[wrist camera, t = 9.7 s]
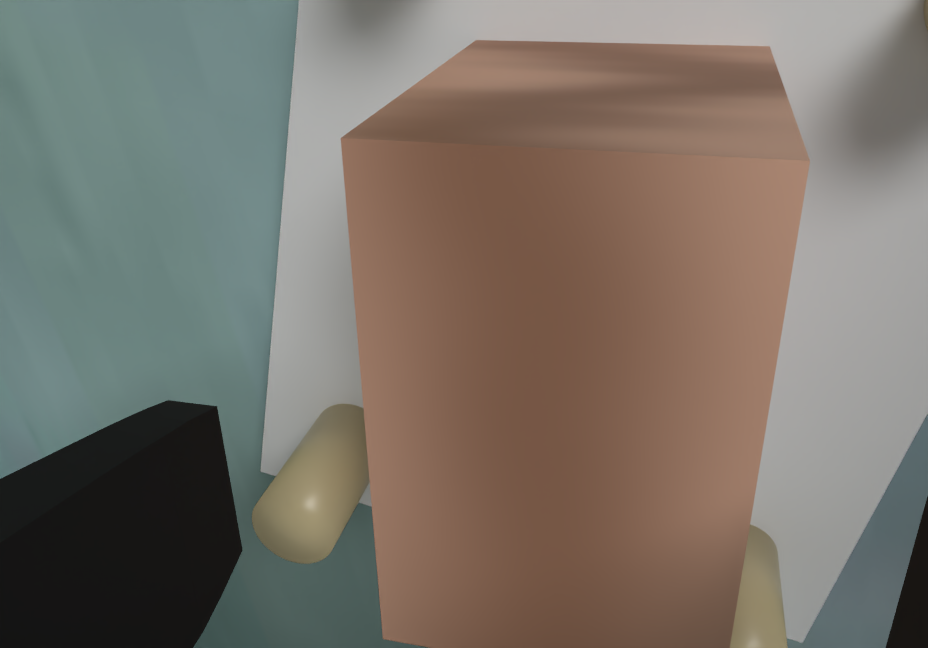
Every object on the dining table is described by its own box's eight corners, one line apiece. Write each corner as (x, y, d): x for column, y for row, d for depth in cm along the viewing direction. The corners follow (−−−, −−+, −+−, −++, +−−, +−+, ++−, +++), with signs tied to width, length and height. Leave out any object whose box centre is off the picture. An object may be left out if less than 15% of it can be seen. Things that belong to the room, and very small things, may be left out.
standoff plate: (1166, -108, 12) (1364, -98, 8) (797, 601, 19) (818, 772, 15) (351, -269, 14) (221, -320, 10) (282, 441, 20) (191, 564, 17)
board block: (769, 45, 13) (809, 160, 8) (716, 436, 16) (720, 701, 11) (475, 40, 14) (340, 138, 9) (480, 408, 17) (382, 639, 12)
